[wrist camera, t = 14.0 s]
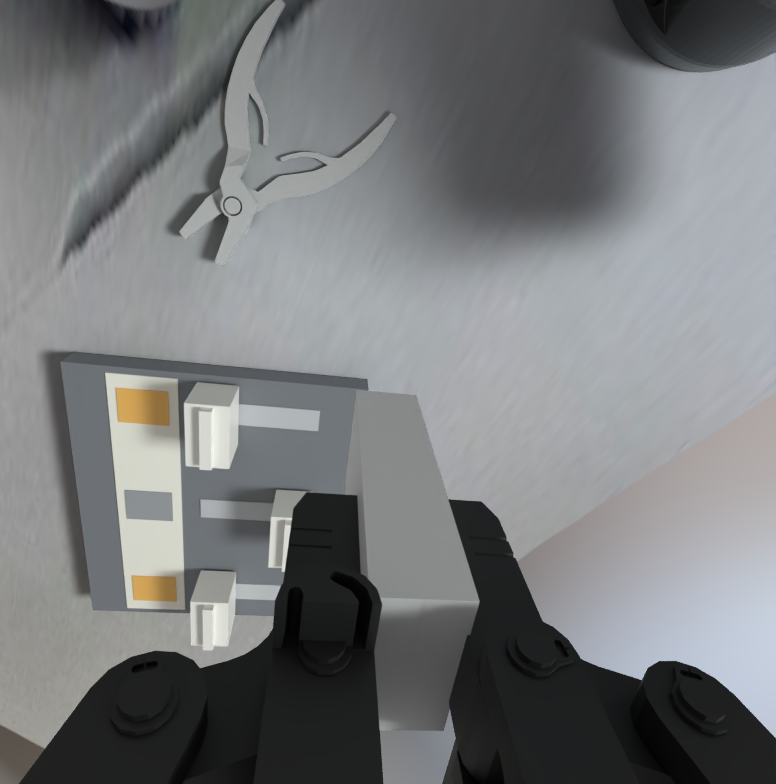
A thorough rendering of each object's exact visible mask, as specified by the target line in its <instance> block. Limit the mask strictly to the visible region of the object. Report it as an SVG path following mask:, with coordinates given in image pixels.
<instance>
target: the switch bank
mask: <svg viewBox="0 0 776 784" xmlns="http://www.w3.org/2000/svg"><path fill="white" fill-rule="evenodd" d="M60 364H61V372H62V379H63V387H64V394H65V402H66V410H67V417H68V425H69V432H70V440H71V448H72V455H73V463H74V471H75V478H76V486H77V493H78V501H79V509H80V516H81V524H82V531H83V539H84V547H85V554H86V562H87V569H88V577H89V585H90V592H91V600H92V607H93V610H106V611H136V612H167V613H190V601H191V598H192V595H193V592H194V589H195V586H196V583H197V580H198V577H199V575H200V572H201V570H203V571H226V572H236V603H235V615H258V616H274V607H275V599H276V597H277V594H278V592H279V589H280V587H281V585H282V584H283V580H284V573H285V572H282V568H268V563H269V544H270V526H271V514H272V509H273V504H274V499H275V494H276V490H291V491H307V492H313V493H327V494H343V495H345V481H346V473H347V464H348V456H349V448H350V440H351V432H352V423H353V415H354V407H355V399H356V391H357V390H363V391H368V382H367V379H357V378H347V377H336V376H325V375H315V374H304V373H293V372H283V371H272V370H261V369H251V368H240V367H229V366H219V365H208V364H197V363H186V362H176V361H165V360H154V359H144V358H133V357H122V356H112V355H101V354H90V353H80V352H73V353H71V354H70V355H69V356H67V357H66V358H65V359H63V360H62V361H61V362H60ZM197 382H201V383H212V384H224V385H235V386H239V422H238V446H237V449H236V451H235V454H234V457H233V460H232V463H231V465H230V468H229V469H219V468H212V470H200V467H189V466H186V461H185V425H184V402H185V401H186V399H187V397H188V396H189V394H190V393H191V391H192V389H193V388H194V386H195V385H196V383H197Z"/></svg>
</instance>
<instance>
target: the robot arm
mask: <svg viewBox="0 0 776 784" xmlns="http://www.w3.org/2000/svg"><path fill="white" fill-rule="evenodd" d="M614 1H615V4H616V7H617V10H618V12H619V15H620V17H621V19H622V21H623V23H624V25H625V27H626V28H627V30H628V31H629V33H630V34H631V36H632V37H633V38H634V40H635V41H636V42H637V43H638V44H639V45H640V46H641V48H642V49H644V50H645V51H646V52H647V53H648V54H649V55H651V56H652V57H653V58H655V59H656V60H658V61H660V62H662V63H664V64H666V65H668V66H670V67H673V68H676V69H680V70H684V71H691V72H711V71H718V70H723V69H727V68H731V67H736V66H740V65H745V64H748V63H751V62H755V61H757V60H760V59H762V58H765V57H767V56H769V55H771V54H773V53H775V52H776V0H614ZM449 709H450V711H451V716H452V721H453V727H454V732H455V737H456V740H455V743H454V746H453V750H452V753H451V756H450V760H449V763H448V766H447V770H446V773H445V776H444V780H443V783H442V784H776V738H775V737H774V736H773V735H772V734H771V733H770V732H769V731H768V730H767V729H766V728H765V727H764V726H763V725H762V724H761V723H760V721H759V720H758V719H757V718H756V717H755V716H754V715H753V714H752V713H751V712H750V711H749V710H748V709H747V708H746V707H745V706H744V705H743V704H742V702H741V701H740V700H739V699H738V698H737V697H736V696H735V695H734V694H733V693H731V692H730V691H729V690H728V689H727V688H726V687H725V686H723V685H722V684H721V683H720V682H719V681H718V680H716V679H715V678H713V677H712V676H710V675H708V674H706V673H705V672H702V671H701V670H699V669H698V668H696V667H693V666H690V665H687V664H683V663H680V662H677V661H659V662H657V663H656V664H654V665H652V666H651V667H649V668H648V669H647V671H646V673H645V675H644V677H643V679H642V680H639V679H636V678H633V677H630V676H626V675H623V674H620V673H617V672H614V671H611V670H608V669H604V668H601V667H598V666H596V665H593V664H591V663H588V662H586V661H584V660H582V659H580V657H579V655H578V653H577V652H576V650H575V649H574V648H573V646H572V644H571V643H570V642H569V640H568V639H567V638H565V637H564V636H563V635H562V634H561V633H560V632H558V631H557V630H556V629H555V628H554V627H552V626H550V625H548V624H546V623H544V622H543V621H542V619H541V617H540V615H539V612H538V610H537V608H536V605H535V603H534V601H533V598H532V596H531V593H530V591H529V589H528V586H527V584H526V582H525V580H524V577H523V575H522V573H521V570H520V568H519V566H518V563H517V561H516V559H515V558H513V552H512V549H511V547H510V545H509V542H507V541H506V535H505V533H504V531H503V528H502V526H501V524H500V521H499V519H498V518H497V517H496V516H495V515H494V514H493V513H492V512H491V511H490V510H489V509H488V508H487V507H486V506H485V505H484V504H483V503H482V502H479V501H463V500H448V497H447V494H446V490H445V487H444V484H443V481H442V477H441V474H440V471H439V468H438V464H437V461H436V458H435V455H434V451H433V448H432V445H431V442H430V439H429V435H428V432H427V429H426V426H425V422H424V419H423V416H422V413H421V409H420V406H419V403H418V400H417V396H416V395H407V394H396V393H385V392H374V391H363V390H357V391H356V399H355V407H354V415H353V423H352V432H351V440H350V448H349V456H348V464H347V473H346V481H345V495H343V494H327V493H312V492H306V493H305V495H304V496H303V497H302V498H301V499H300V501H299V502H298V503H297V504H296V506H295V507H294V508H293V515H292V522H291V530H290V536H289V544H288V551H287V558H286V566H285V573H284V580H283V584H282V585H281V587H280V589H279V592H278V594H277V597H276V599H275V607H274V623H273V629H272V631H271V633H270V634H269V636H268V637H267V638H266V639H265V640H264V641H263V642H262V643H261V644H260V645H259V646H257V647H256V648H254V649H253V650H251V651H249V652H248V653H246V654H245V655H242V656H240V657H237V658H234V659H232V660H229V661H226V662H222V663H218V664H215V665H211V666H207V667H204V668H199V667H198V666H197V664H196V663H195V662H194V660H192V659H190V658H187V657H185V656H183V655H181V654H179V653H177V652H164V651H153V652H149V653H145V654H141V655H137V656H133V657H130V658H129V659H127V660H125V661H123V662H122V663H120V664H118V665H116V666H115V667H113V668H111V669H109V670H108V671H107V672H106V673H105V674H104V675H103V676H102V677H101V678H100V679H99V680H98V681H97V682H96V683H95V684H94V685H93V686H92V687H91V688H90V690H89V691H88V692H87V694H86V695H85V696H84V698H83V699H82V700H81V702H80V703H79V704H78V706H77V707H76V708H75V710H74V711H73V712H72V714H71V715H70V716H69V718H68V719H67V720H66V722H65V723H64V724H63V726H62V727H61V728H60V730H59V731H58V732H57V734H56V735H55V736H54V738H53V739H52V740H51V742H50V743H49V744H48V746H47V747H46V748H45V750H44V751H43V752H42V754H41V755H40V756H39V758H38V759H37V761H36V762H35V763H34V765H33V766H32V767H31V768H30V770H29V771H28V773H27V774H26V775H25V777H24V778H23V779H22V780H21V782H20V783H19V784H383V772H382V759H381V744H380V730H423V731H425V730H426V731H427V730H429V731H431V730H433V731H435V730H436V731H437V730H438V731H443V730H444V727H445V723H446V720H447V716H448V713H449Z"/></svg>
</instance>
